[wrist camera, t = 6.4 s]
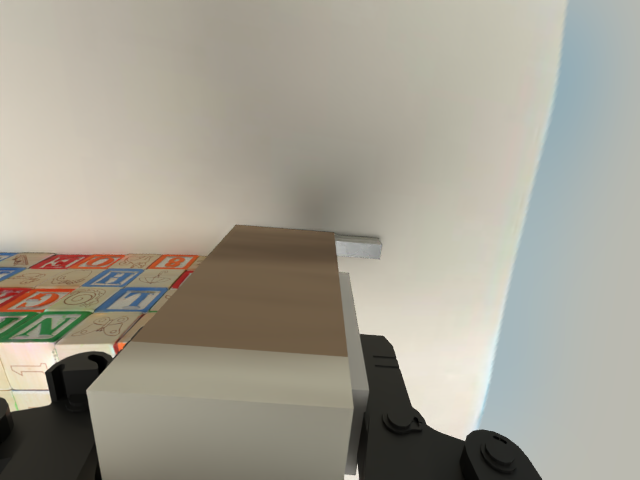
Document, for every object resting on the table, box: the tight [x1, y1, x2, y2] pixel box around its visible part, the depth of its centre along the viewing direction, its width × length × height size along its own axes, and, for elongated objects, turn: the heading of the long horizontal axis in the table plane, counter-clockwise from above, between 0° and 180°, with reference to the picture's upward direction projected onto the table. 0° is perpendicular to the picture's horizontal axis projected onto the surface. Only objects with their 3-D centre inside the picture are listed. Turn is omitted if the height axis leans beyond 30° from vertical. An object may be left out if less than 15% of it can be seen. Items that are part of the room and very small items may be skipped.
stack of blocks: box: [0, 253, 207, 412], centre depth 23 cm, size 21×6×12 cm, turn 89°
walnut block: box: [86, 225, 354, 480], centre depth 10 cm, size 6×4×9 cm, turn 175°
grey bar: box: [335, 235, 382, 259], centre depth 27 cm, size 1×11×2 cm, turn 85°
